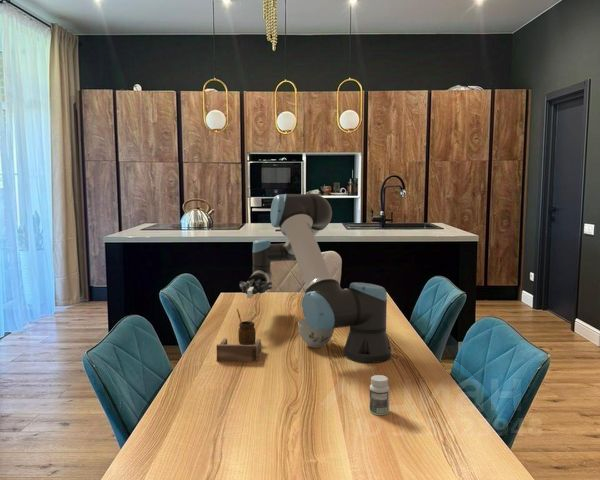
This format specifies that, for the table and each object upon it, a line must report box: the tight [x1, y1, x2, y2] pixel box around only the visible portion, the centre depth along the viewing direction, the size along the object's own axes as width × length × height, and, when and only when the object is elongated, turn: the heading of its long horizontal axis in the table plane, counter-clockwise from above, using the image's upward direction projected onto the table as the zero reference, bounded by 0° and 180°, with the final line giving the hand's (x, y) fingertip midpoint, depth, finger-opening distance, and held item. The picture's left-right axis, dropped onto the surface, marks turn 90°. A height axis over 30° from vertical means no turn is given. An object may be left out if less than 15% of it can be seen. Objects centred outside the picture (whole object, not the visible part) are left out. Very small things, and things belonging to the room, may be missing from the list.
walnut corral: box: [216, 338, 262, 363], centre depth 163 cm, size 11×12×5 cm
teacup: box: [297, 318, 335, 349], centre depth 175 cm, size 15×12×8 cm
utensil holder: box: [236, 308, 257, 345], centre depth 177 cm, size 6×6×12 cm
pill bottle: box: [369, 374, 390, 416], centre depth 123 cm, size 5×5×8 cm
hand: (249, 294), depth 183 cm, fingers closed
